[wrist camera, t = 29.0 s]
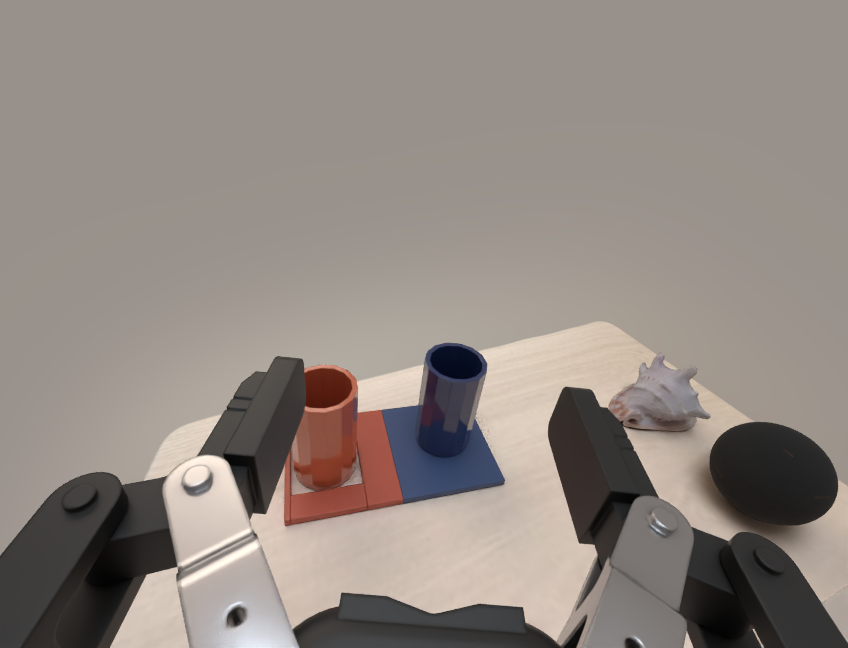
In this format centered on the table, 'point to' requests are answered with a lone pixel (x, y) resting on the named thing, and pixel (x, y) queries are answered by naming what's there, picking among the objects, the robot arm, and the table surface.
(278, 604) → the robot arm
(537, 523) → the table surface
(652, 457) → the table surface
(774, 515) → the speaker
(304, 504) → the sorting board
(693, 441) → the table surface
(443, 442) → the blue cup
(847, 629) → the milk carton
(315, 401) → the red cup
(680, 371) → the seashell
